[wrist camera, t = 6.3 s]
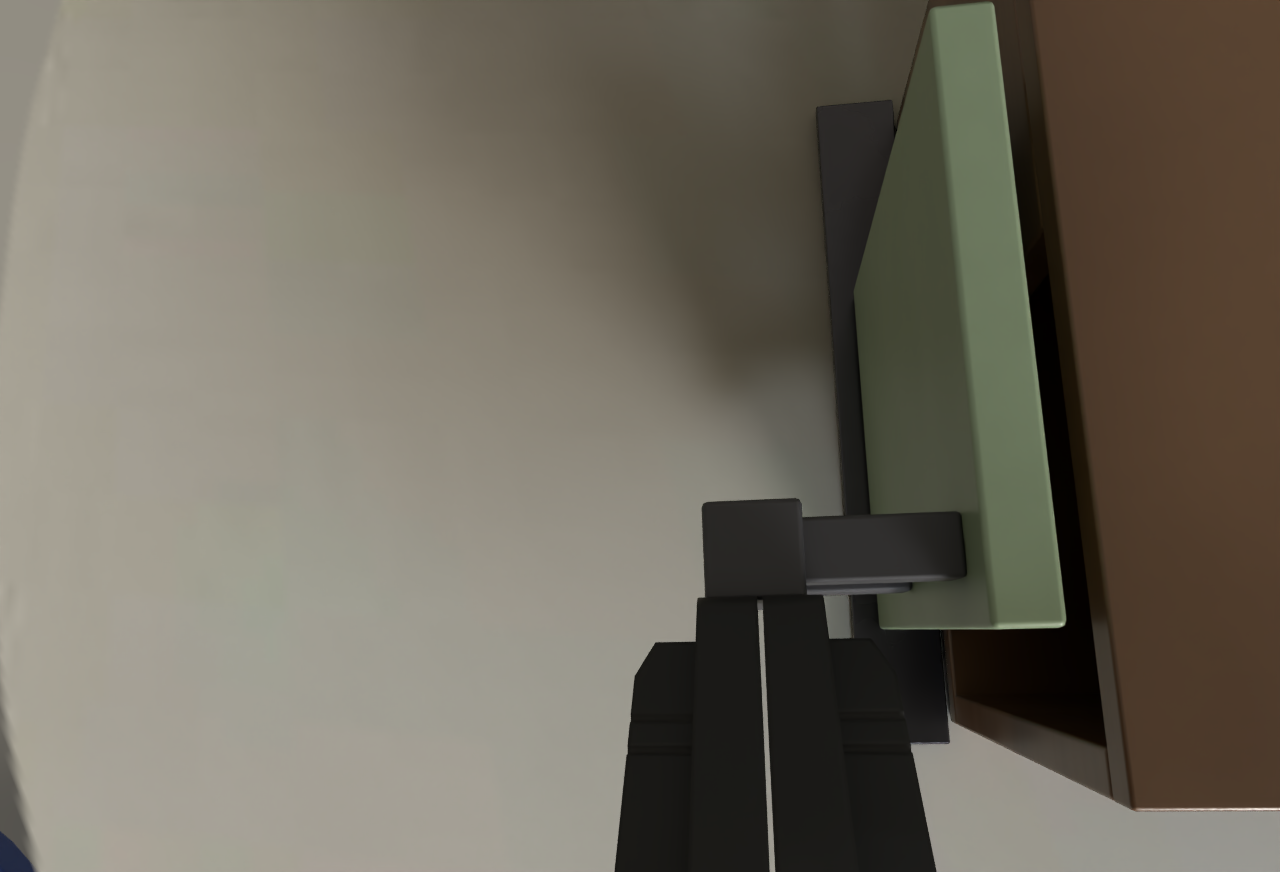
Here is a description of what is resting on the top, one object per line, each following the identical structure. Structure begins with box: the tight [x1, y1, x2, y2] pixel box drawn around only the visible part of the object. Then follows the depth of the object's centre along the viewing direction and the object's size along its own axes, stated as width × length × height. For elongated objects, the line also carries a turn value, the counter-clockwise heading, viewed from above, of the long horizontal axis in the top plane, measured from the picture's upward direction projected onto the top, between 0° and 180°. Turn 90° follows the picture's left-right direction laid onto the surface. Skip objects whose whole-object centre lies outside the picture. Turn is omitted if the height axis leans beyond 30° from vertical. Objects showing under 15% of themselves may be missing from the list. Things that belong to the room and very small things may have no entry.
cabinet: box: [816, 0, 1280, 811], centre depth 16 cm, size 13×15×10 cm
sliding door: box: [702, 1, 1066, 629], centre depth 16 cm, size 4×8×10 cm, turn 2°
